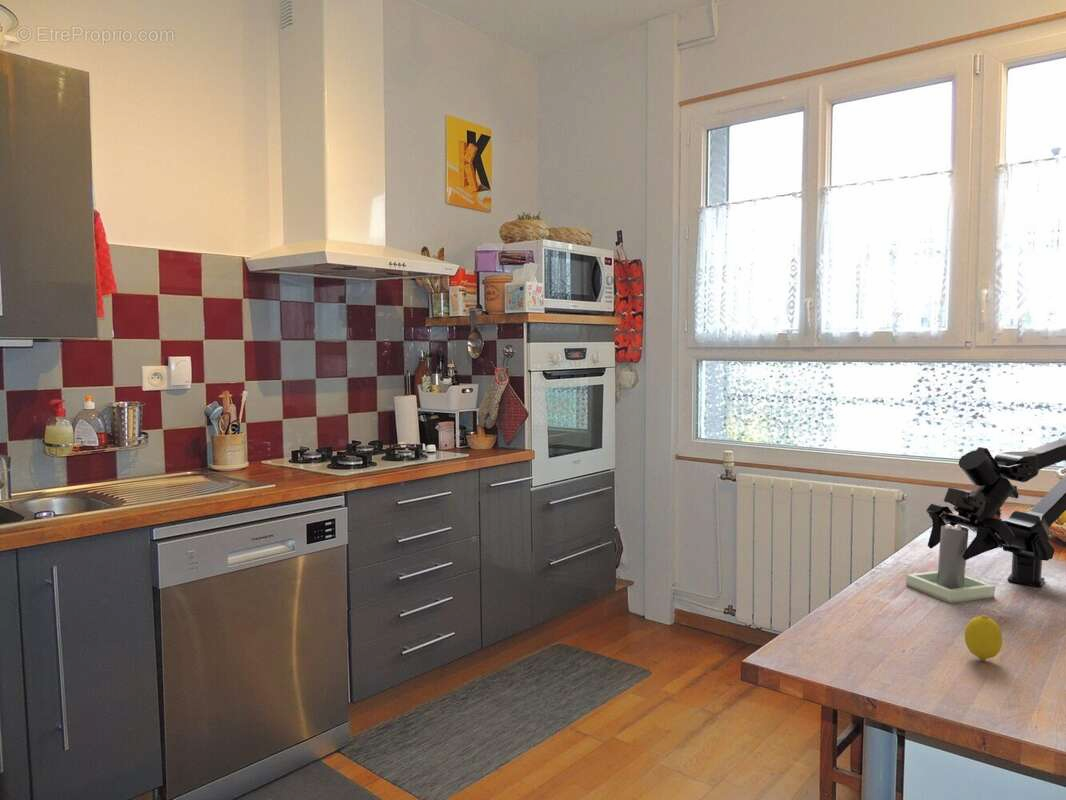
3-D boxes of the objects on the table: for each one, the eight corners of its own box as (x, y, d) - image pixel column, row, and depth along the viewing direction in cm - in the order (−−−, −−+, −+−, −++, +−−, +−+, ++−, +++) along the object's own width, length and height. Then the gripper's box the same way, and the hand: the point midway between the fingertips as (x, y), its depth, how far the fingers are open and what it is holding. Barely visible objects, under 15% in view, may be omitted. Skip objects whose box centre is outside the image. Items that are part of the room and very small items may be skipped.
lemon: (1006, 668, 127) (1009, 622, 126) (970, 665, 128) (972, 619, 127) (993, 655, 132) (995, 610, 131) (959, 652, 133) (961, 608, 132)
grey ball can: (939, 582, 169) (944, 520, 167) (965, 588, 165) (970, 525, 164) (934, 588, 165) (939, 525, 163) (960, 594, 161) (966, 529, 160)
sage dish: (948, 580, 173) (948, 569, 172) (994, 597, 161) (995, 586, 161) (906, 585, 169) (906, 574, 169) (950, 603, 158) (950, 591, 157)
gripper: (934, 468, 173) (893, 519, 171) (1007, 483, 155) (962, 540, 153) (959, 499, 176) (919, 550, 174) (1034, 518, 158) (990, 574, 156)
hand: (946, 552), depth 164 cm, fingers open, 9 cm apart
